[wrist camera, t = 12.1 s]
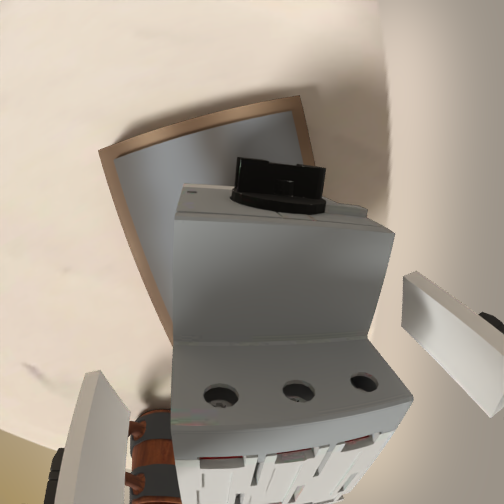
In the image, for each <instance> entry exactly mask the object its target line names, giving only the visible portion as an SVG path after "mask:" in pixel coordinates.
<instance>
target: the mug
mask: <svg viewBox="0 0 504 504" xmlns="http://www.w3.org/2000/svg"><path fill="white" fill-rule="evenodd" d="M130 435H131V438H130V454H131V457H132V472H131V473H128V472H125V485H126V486H129V487H130V504H182V500H181V495H180V489H179V484H178V478H177V471H176V465H175V458H174V451H173V443H172V435H171V410H166V409H161V410H153V411H149V412H147V413H144V414H143V415H141V416H140V417H139V418H138V419H137V420H136V421H135V422H134V421H129V430H128V437H129V436H130Z"/></svg>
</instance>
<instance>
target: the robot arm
mask: <svg viewBox="0 0 504 504" xmlns="http://www.w3.org/2000/svg"><path fill="white" fill-rule="evenodd" d="M401 326H402V327H403V328H404V329H405V330H406V331H407V332H408V333H409V334H410V335H411V336H412V337H413V338H414V339H415V340H416V341H417V342H418V343H419V344H420V345H421V346H422V347H423V348H424V349H425V350H426V351H427V352H428V353H429V354H430V355H431V356H432V357H433V358H434V359H435V360H436V361H437V362H438V363H439V364H440V365H441V366H442V367H443V368H444V370H445V371H446V372H447V373H448V374H449V375H450V376H451V377H452V378H453V379H454V380H455V381H456V382H457V383H458V384H459V385H460V386H461V387H462V388H463V389H464V390H465V391H466V393H467V394H468V395H469V396H470V397H471V398H472V399H473V400H474V401H475V402H476V403H477V404H478V405H479V407H480V408H481V409H482V410H483V411H484V412H485V413H486V414H487V415H488V416H489V417H490V418H492V417H493V416H494V415H495V414H496V413H497V412H499V411H500V410H501V409H502V408H503V407H504V325H503V323H502V322H501V321H500V320H498V319H497V318H496V317H494V316H492V315H489V314H487V313H484V312H482V313H480V314H477V313H475V312H474V311H472V310H471V309H470V308H468V307H467V306H466V305H464V304H463V303H462V302H460V301H459V300H458V299H456V298H455V297H453V296H452V295H450V294H449V293H448V292H446V291H445V290H443V289H442V288H441V287H439V286H438V285H436V284H435V283H433V282H432V281H431V280H429V279H428V278H426V277H425V276H423V275H422V274H420V273H419V272H417V271H415V272H413V273H410V274H408V275H405V276H403V304H402V324H401ZM129 420H130V411H129V410H128V408H127V407H126V406H125V404H124V403H123V402H122V400H121V399H120V398H119V396H118V395H117V394H116V392H115V391H114V389H113V388H112V387H111V385H110V384H109V382H108V381H107V379H106V378H105V376H104V375H103V373H102V372H101V370H99V371H94V372H89V373H86V374H85V377H84V380H83V383H82V386H81V390H80V393H79V396H78V400H77V403H76V407H75V410H74V414H73V418H72V421H71V425H70V429H69V433H68V437H67V441H66V445H65V448H59V449H58V451H57V453H56V454H55V456H54V458H53V460H52V465H51V469H50V470H51V472H50V474H49V478H48V479H49V481H48V483H47V489H46V494H45V500H44V504H124V486H125V467H126V453H127V441H128V430H129Z"/></svg>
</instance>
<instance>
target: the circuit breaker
mask: <svg viewBox="0 0 504 504" xmlns="http://www.w3.org/2000/svg"><path fill="white" fill-rule="evenodd" d="M325 172H326V168H322V167H316V166H310V165H303V164H297V165H289V164H281V163H272V162H269V161H267V160H263V159H254V158H244V157H237V163H236V174H235V185H234V186H221V185H206V184H190V183H184V184H183V188H182V191H181V195H180V198H179V202H178V205H177V209H176V213H175V218H174V241H173V358H172V383H171V435H172V443H173V451H174V458H175V465H176V471H177V478H178V484H179V489H180V495H181V500H182V504H332V503H336V502H339V501H343V499H344V498H343V496H342V494H345V493H349V492H350V491H351V490H352V489H353V488H354V486H355V485H356V484H357V483H358V481H359V480H360V479H361V477H362V476H363V475H364V474H365V473H366V471H367V470H368V469H369V467H370V466H371V465H372V463H373V462H374V461H375V459H376V458H377V457H378V455H379V454H380V452H381V451H382V450H383V448H384V447H385V445H386V444H387V442H388V441H389V439H390V438H391V436H392V435H393V433H394V432H395V430H396V429H397V427H398V425H399V424H400V422H401V421H402V419H403V417H404V416H405V414H406V412H407V411H408V409H409V407H410V406H411V404H412V402H413V395H412V394H411V392H410V391H409V390H408V389H407V387H406V386H405V385H404V384H403V382H402V381H401V380H400V378H399V377H398V376H397V375H396V373H395V372H394V371H393V370H392V369H391V367H390V366H389V365H388V363H387V362H386V361H385V360H384V359H383V357H382V356H381V355H380V353H379V352H378V351H377V350H376V349H375V347H374V346H373V345H372V344H371V342H370V341H369V340H368V338H367V334H368V331H369V328H370V325H371V322H372V319H373V316H374V313H375V309H376V306H377V303H378V299H379V296H380V292H381V289H382V285H383V281H384V278H385V274H386V270H387V266H388V262H389V258H390V254H391V250H392V245H393V241H394V237H395V233H394V232H392V231H391V230H389V229H388V228H385V227H384V226H382V225H380V224H378V223H376V222H374V221H373V220H371V219H369V218H367V211H368V209H365V208H363V207H361V206H356V205H349V204H341V203H336V202H334V201H332V200H330V199H328V198H326V197H323V196H322V192H323V186H324V179H325Z"/></svg>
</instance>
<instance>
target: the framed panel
mask: <svg viewBox="0 0 504 504" xmlns="http://www.w3.org/2000/svg"><path fill="white" fill-rule="evenodd" d="M98 152H99V156H100V159H101V163H102V166H103V170H104V173H105V176H106V180H107V183H108V186H109V189H110V192H111V195H112V198H113V201H114V204H115V207H116V210H117V213H118V216H119V219H120V222H121V225H122V228H123V230H124V233H125V236H126V239H127V241H128V244H129V247H130V249H131V252H132V255H133V257H134V260H135V262H136V265H137V267H138V270H139V272H140V275H141V277H142V280H143V282H144V284H145V287H146V289H147V291H148V294H149V296H150V298H151V301H152V303H153V305H154V308H155V310H156V312H157V314H158V317H159V319H160V321H161V323H162V325H163V327H164V330H165V332H166V334H167V336H168V338H169V340H170V342H171V344H172V346H173V241H174V218H175V213H176V209H177V205H178V202H179V198H180V195H181V191H182V188H183V184H184V183H190V184H206V185H221V186H234V185H235V174H236V163H237V157H244V158H254V159H263V160H267V161H269V162H272V163H281V164H289V165H297V164H303V165H310V166H315V162H314V157H313V152H312V148H311V143H310V138H309V133H308V129H307V124H306V120H305V116H304V111H303V107H302V103H301V99H300V95H298V96H292V97H286V98H280V99H275V100H269V101H264V102H259V103H254V104H249V105H245V106H240V107H236V108H231V109H227V110H223V111H219V112H215V113H211V114H207V115H203V116H199V117H196V118H192V119H189V120H185V121H182V122H178V123H175V124H172V125H168V126H165V127H162V128H159V129H156V130H153V131H150V132H147V133H144V134H141V135H138V136H135V137H132V138H129V139H127V140H124V141H121V142H118V143H116V144H113V145H111V146H108V147H105V148H103V149H100V150H98Z"/></svg>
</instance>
